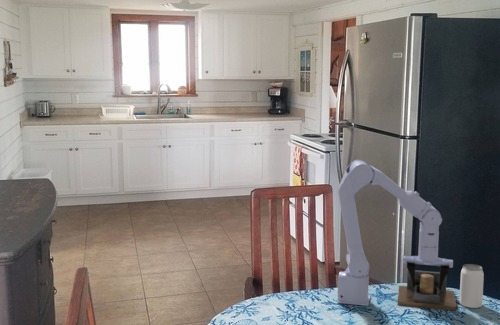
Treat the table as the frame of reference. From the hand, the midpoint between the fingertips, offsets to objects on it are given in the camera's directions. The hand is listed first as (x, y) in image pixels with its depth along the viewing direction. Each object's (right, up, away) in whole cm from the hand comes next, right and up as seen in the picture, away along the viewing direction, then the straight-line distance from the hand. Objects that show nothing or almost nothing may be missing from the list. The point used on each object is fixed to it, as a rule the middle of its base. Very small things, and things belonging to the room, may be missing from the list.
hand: (426, 287), depth 172 cm
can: (+13, -5, -2) cm, 14 cm away
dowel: (0, -3, 0) cm, 3 cm away
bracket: (+1, -4, +2) cm, 5 cm away
